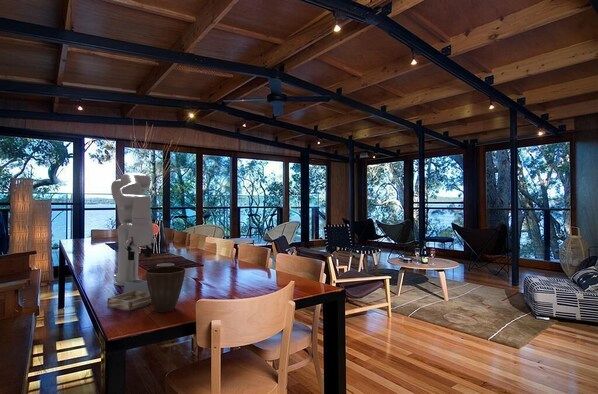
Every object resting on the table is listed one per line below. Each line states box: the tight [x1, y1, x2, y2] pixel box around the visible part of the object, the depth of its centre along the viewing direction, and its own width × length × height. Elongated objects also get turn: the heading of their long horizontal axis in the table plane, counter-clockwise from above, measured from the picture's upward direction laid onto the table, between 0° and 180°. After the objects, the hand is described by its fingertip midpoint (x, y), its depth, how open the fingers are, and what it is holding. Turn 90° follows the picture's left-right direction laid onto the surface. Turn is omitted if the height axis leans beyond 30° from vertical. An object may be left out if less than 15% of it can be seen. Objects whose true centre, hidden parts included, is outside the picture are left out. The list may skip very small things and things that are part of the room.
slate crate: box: [123, 279, 149, 296], centre depth 156 cm, size 8×6×6 cm
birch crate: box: [106, 291, 153, 312], centre depth 141 cm, size 12×13×4 cm
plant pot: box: [145, 266, 186, 313], centre depth 135 cm, size 15×15×16 cm
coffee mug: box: [149, 262, 175, 269], centre depth 178 cm, size 12×9×10 cm
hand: (139, 258), depth 156 cm, fingers open, 9 cm apart
